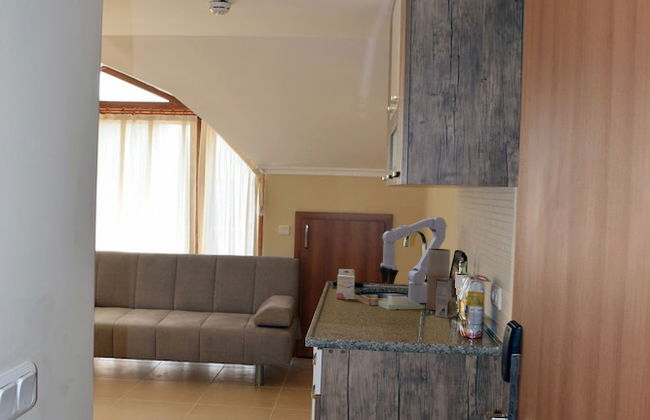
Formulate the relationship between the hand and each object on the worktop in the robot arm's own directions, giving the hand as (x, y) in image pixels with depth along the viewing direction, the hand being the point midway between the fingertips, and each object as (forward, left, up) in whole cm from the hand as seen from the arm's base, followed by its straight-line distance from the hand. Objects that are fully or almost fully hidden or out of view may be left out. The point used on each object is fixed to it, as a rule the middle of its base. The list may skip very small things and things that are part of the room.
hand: (388, 283), depth 310 cm
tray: (+2, +17, -9) cm, 19 cm away
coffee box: (-9, +42, -10) cm, 44 cm away
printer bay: (+9, +3, -9) cm, 13 cm away
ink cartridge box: (+18, -12, -10) cm, 23 cm away
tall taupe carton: (-14, +24, -9) cm, 29 cm away
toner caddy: (+2, +17, -9) cm, 19 cm away
